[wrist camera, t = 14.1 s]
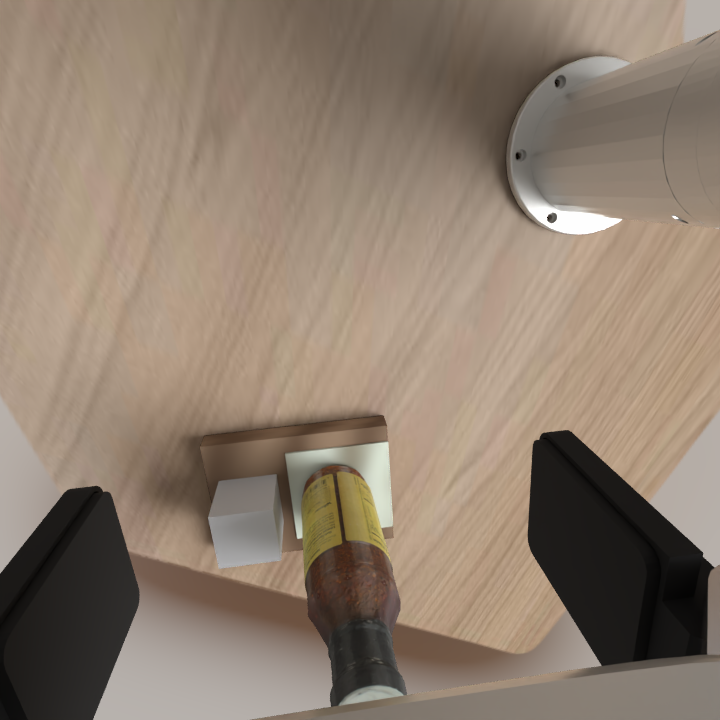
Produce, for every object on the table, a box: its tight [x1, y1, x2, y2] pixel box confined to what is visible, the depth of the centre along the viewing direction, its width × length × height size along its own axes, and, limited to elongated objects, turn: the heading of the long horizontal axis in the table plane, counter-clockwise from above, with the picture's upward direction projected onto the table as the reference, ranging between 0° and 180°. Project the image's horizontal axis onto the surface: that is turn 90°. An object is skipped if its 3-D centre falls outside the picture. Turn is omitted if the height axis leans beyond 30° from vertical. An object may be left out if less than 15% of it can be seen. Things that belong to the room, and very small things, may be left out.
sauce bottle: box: [301, 465, 407, 707], centre depth 34 cm, size 6×6×20 cm
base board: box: [200, 416, 394, 553], centre depth 44 cm, size 16×12×2 cm
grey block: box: [208, 474, 284, 569], centre depth 41 cm, size 5×5×5 cm
